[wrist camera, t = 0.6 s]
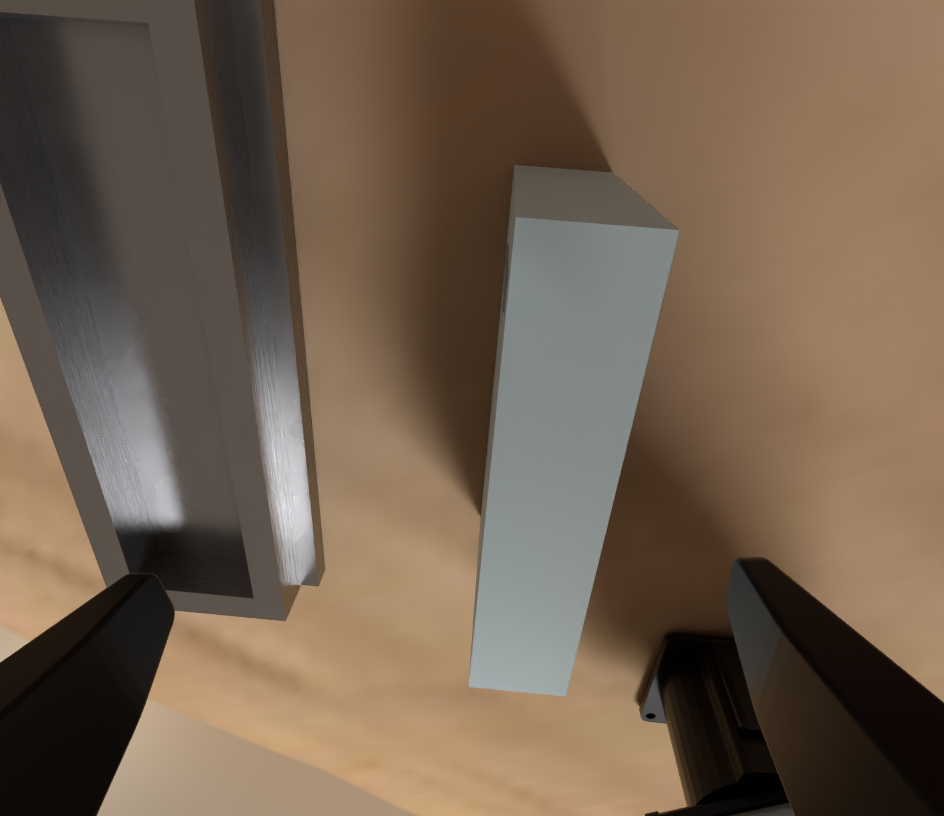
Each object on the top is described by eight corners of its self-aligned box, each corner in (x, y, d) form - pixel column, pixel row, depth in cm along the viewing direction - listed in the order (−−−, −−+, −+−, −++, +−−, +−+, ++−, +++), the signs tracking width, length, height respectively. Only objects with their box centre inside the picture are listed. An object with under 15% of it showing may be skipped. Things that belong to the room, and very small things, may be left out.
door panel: (551, 521, 24) (567, 696, 17) (479, 515, 24) (467, 686, 17) (613, 172, 17) (682, 230, 10) (512, 164, 17) (512, 217, 10)
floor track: (325, 569, 26) (304, 623, 24) (135, 551, 26) (94, 602, 24) (272, -15, 15) (223, -35, 13) (-51, -38, 15) (-165, -63, 13)
